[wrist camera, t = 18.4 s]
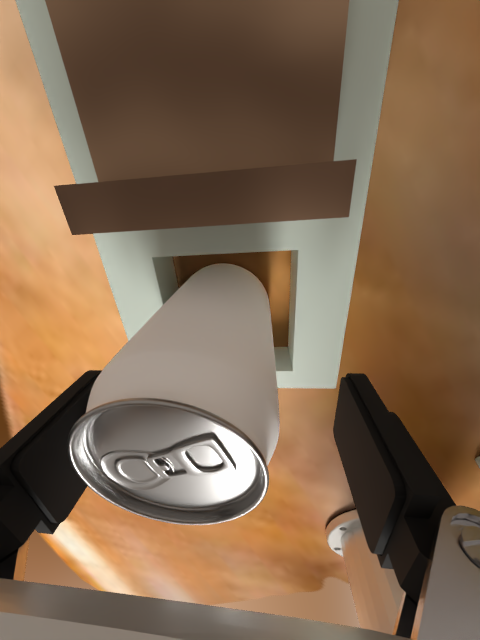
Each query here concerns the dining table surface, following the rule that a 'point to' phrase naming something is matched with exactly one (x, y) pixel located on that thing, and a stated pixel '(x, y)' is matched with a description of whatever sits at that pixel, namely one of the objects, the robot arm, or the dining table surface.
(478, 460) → the towel
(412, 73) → the dining table surface
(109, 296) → the dining table surface
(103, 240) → the well board
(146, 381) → the can
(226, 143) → the lid
